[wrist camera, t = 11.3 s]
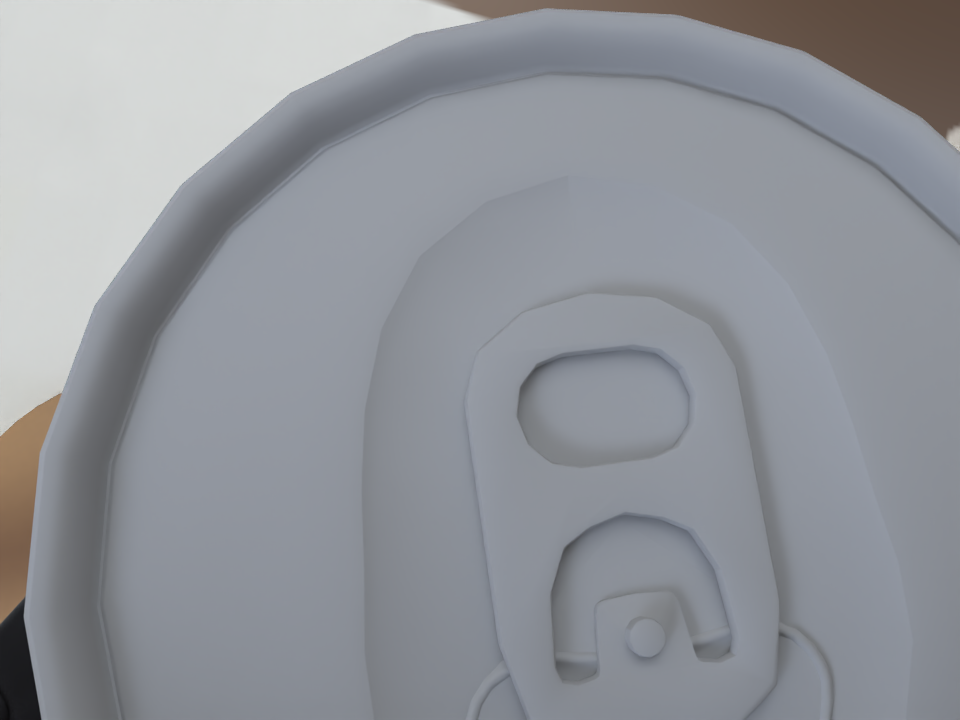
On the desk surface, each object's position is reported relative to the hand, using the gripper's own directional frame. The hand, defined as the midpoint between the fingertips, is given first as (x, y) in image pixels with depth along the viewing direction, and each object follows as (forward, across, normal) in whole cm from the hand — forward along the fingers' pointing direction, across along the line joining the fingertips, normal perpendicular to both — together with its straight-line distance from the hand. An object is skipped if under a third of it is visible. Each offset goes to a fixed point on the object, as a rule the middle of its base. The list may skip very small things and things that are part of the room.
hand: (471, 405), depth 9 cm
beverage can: (+4, 0, +6) cm, 7 cm away
